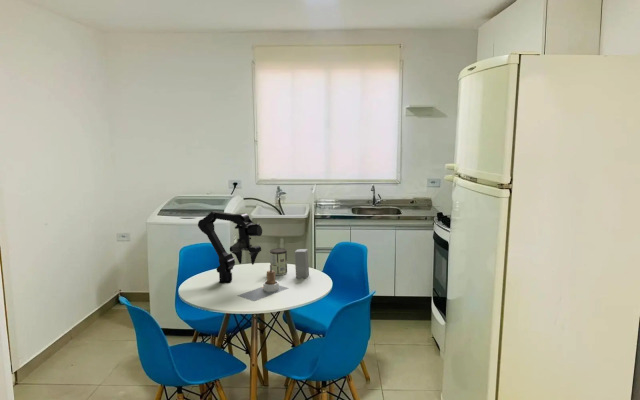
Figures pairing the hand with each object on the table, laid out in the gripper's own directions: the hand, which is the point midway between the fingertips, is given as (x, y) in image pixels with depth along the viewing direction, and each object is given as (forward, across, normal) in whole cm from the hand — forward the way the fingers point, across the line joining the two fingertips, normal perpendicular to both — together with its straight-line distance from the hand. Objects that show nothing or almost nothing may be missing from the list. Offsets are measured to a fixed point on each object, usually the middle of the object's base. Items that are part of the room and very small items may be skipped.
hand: (246, 264), depth 244 cm
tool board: (+13, +17, -7) cm, 22 cm away
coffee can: (+12, +1, +27) cm, 29 cm away
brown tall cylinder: (+12, +17, -2) cm, 21 cm away
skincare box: (+13, +16, +29) cm, 36 cm away
